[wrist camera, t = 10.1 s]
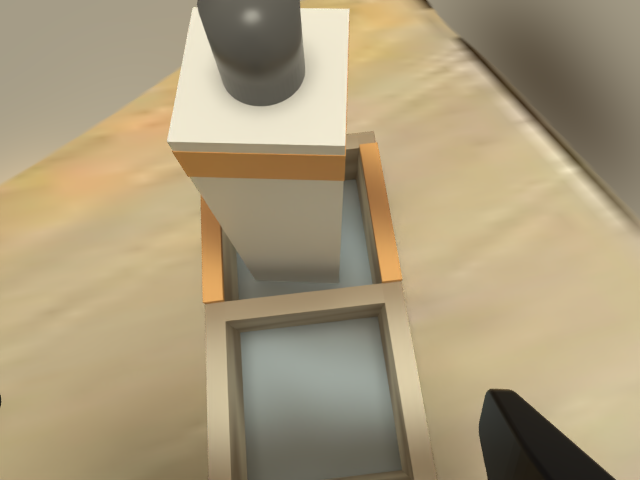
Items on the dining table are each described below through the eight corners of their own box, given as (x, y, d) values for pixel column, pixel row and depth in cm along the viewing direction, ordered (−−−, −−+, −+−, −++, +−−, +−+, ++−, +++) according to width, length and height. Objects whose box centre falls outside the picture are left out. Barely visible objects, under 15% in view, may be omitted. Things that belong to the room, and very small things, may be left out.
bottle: (339, 284, 21) (349, 85, 8) (255, 280, 21) (126, 81, 8) (341, 206, 22) (353, -72, 9) (262, 204, 23) (163, -73, 9)
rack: (434, 495, 18) (461, 519, 15) (222, 521, 18) (192, 553, 15) (375, 164, 24) (383, 118, 20) (211, 182, 24) (188, 140, 20)
